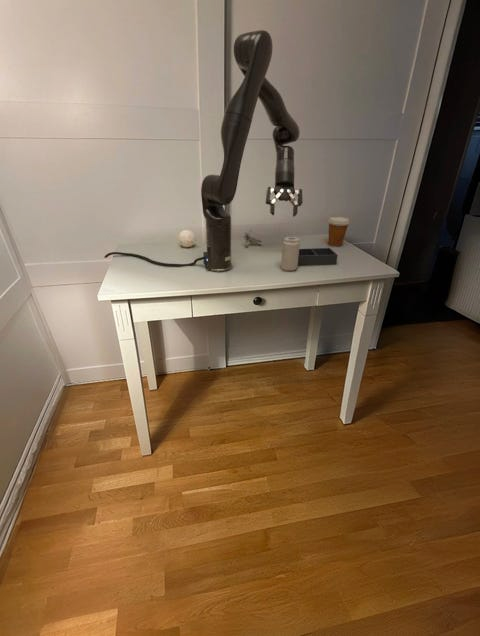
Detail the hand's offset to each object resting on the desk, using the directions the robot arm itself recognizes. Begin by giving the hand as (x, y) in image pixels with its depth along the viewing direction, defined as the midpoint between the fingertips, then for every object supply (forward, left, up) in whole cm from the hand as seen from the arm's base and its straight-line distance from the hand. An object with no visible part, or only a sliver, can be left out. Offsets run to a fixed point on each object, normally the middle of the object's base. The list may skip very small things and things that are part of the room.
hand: (283, 215), depth 122 cm
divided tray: (+13, -4, -18) cm, 23 cm away
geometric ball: (-39, +20, -18) cm, 47 cm away
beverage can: (+1, -11, -18) cm, 21 cm away
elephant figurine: (-9, +20, -18) cm, 28 cm away
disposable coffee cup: (+31, +17, -18) cm, 39 cm away
